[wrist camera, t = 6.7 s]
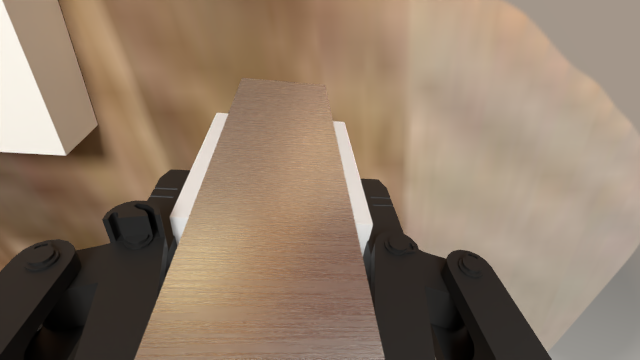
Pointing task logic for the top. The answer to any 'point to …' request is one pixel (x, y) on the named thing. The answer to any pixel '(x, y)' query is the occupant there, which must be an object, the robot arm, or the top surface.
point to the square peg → (269, 243)
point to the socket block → (40, 81)
